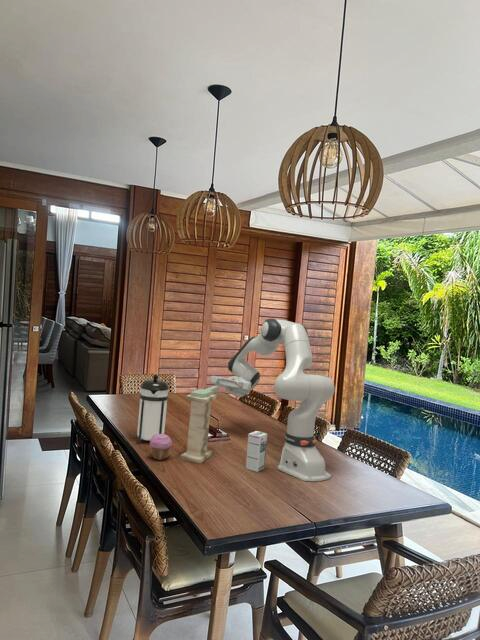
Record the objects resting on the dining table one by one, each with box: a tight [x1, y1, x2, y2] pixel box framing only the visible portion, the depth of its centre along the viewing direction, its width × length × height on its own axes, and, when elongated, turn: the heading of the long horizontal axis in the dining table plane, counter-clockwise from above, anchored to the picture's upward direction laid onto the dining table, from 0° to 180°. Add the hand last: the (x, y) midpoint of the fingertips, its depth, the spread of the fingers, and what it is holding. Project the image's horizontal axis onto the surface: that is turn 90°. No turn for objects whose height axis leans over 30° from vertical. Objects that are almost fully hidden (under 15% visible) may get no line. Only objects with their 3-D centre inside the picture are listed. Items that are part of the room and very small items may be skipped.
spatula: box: [189, 385, 220, 398], centre depth 206 cm, size 21×6×2 cm, turn 161°
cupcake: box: [149, 433, 173, 461], centre depth 196 cm, size 9×9×10 cm
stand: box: [179, 393, 219, 464], centre depth 202 cm, size 13×9×26 cm
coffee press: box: [135, 374, 170, 444], centre depth 219 cm, size 17×16×30 cm
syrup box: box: [245, 430, 268, 473], centre depth 195 cm, size 6×6×14 cm
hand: (227, 381), depth 229 cm, fingers open, 8 cm apart
